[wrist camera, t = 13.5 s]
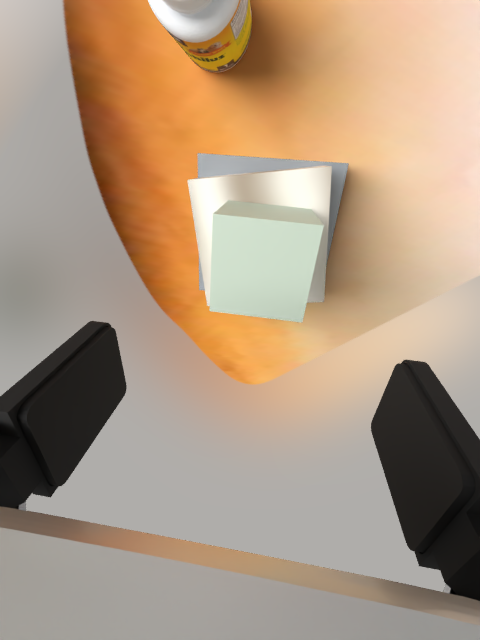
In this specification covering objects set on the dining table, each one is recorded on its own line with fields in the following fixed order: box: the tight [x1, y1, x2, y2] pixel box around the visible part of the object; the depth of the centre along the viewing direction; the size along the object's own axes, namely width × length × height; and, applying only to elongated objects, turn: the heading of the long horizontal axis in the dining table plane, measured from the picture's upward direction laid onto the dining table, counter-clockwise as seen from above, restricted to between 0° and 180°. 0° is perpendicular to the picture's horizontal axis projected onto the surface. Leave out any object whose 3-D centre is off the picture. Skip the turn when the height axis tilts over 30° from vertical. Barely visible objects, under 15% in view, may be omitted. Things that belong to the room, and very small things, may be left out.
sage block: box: [210, 200, 324, 322], centre depth 19 cm, size 6×6×6 cm
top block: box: [188, 166, 332, 306], centre depth 24 cm, size 10×10×4 cm
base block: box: [198, 153, 349, 290], centre depth 27 cm, size 12×12×4 cm
